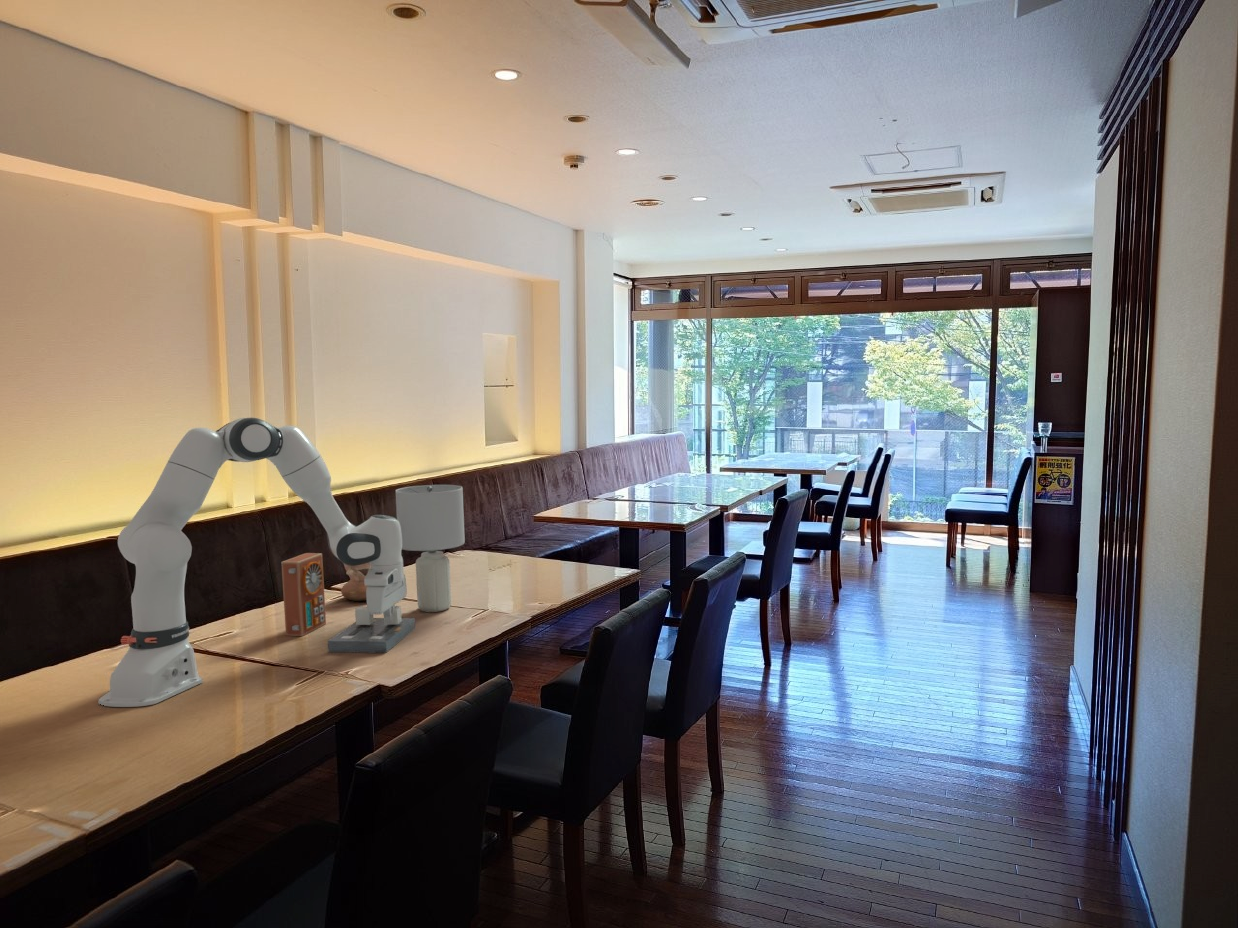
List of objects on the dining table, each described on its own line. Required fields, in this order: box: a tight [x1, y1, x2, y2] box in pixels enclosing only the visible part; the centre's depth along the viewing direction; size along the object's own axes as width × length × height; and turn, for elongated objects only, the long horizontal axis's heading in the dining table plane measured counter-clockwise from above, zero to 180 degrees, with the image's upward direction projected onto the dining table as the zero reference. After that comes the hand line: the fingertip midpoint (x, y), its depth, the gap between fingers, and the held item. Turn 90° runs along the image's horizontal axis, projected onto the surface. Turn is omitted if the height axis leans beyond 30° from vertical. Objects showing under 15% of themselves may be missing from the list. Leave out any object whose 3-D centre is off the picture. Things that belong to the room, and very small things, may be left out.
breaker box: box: [327, 617, 416, 654], centre depth 231 cm, size 22×16×3 cm
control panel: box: [280, 552, 327, 637], centre depth 242 cm, size 21×7×15 cm
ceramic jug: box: [340, 562, 370, 602], centre depth 277 cm, size 18×14×14 cm
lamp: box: [395, 484, 466, 613], centre depth 260 cm, size 20×20×39 cm
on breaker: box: [354, 606, 375, 625], centre depth 235 cm, size 3×4×4 cm
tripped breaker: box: [383, 605, 403, 624], centre depth 235 cm, size 3×4×4 cm
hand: (389, 621), depth 232 cm, fingers closed
